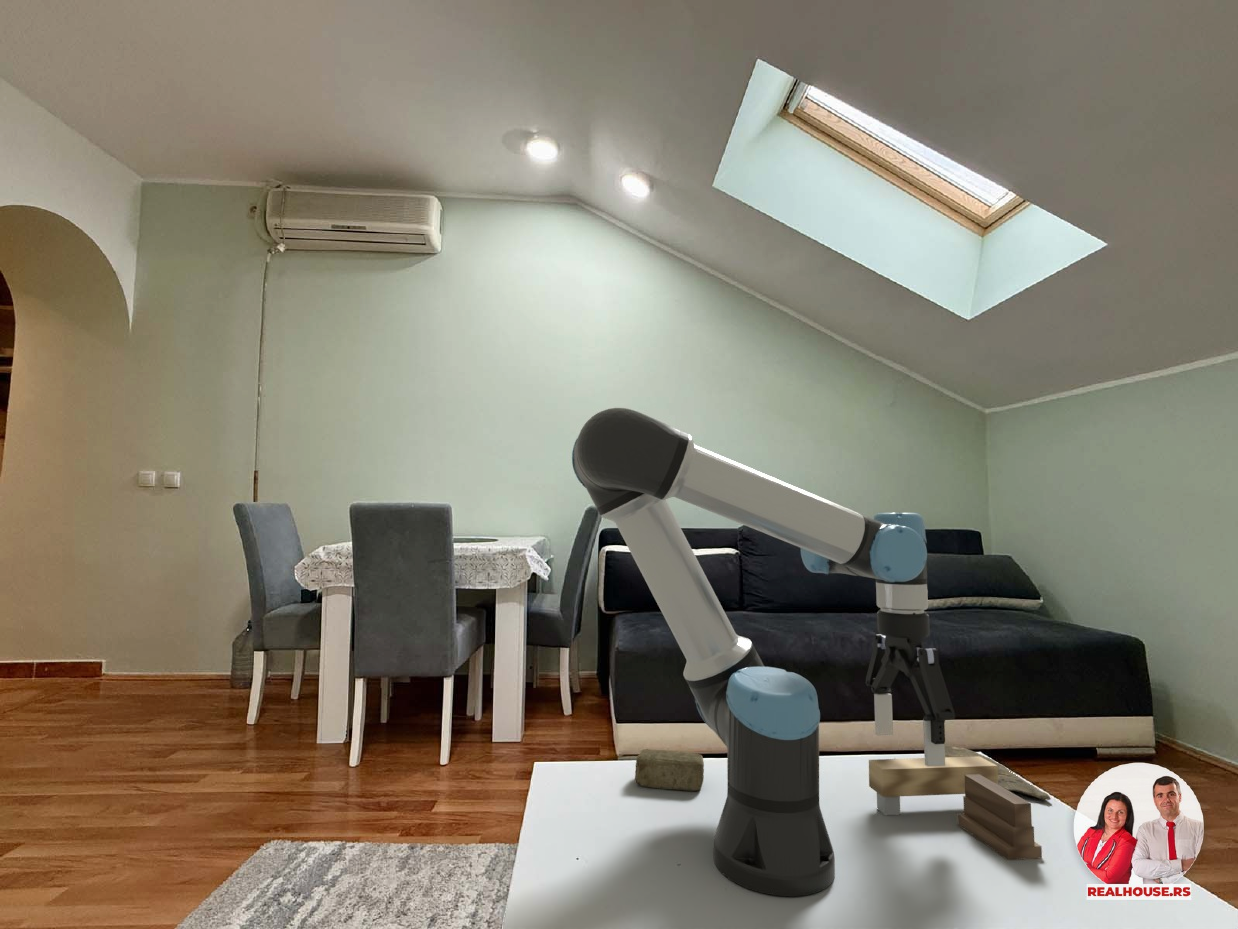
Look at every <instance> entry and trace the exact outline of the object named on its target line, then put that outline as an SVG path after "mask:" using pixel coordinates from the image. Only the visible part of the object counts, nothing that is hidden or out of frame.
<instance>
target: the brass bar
mask: <svg viewBox="0 0 1238 929" xmlns="http://www.w3.org/2000/svg"><path fill="white" fill-rule="evenodd" d="M974 774H980V775H981V776H983V777H985V778H987V779H989V780H990V781H992V782H994V783H996V784H997V785H998V768H997V765H995V764H993V763H991V762H989V761H987V760H986V759H984V758H982V757H980V756H977V757H945V766H926V765H925V757H918V758H917V757H916V758H888V759H885V758H884V759H880V758H879V759H868V787H869V788H871V790H873V791H875V793H876V794H877V793H878V794H880V795H881V796H882V797H899V796H900V797H919V796H920V797H921V796H925V797H926V796H944V795H945V796H946V795H947V796H948V795H965V775H974Z"/></svg>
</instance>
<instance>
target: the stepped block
mask: <svg viewBox="0 0 1238 929" xmlns="http://www.w3.org/2000/svg"><path fill="white" fill-rule="evenodd" d="M962 797H963V813H957V825H958V826H959V827H961V828H962V829H963V830H965V831H966V832H967V833H969V834H971V835H972V836H974V837H975V838H976V839H978V841H980V842H981V843H983V844H985V846H987V847H989V848H990V849H992V850H993V851H995V852H996V853H997V854H998V855H1001V857H1003V858H1004V859H1005V860H1007V861H1011V860H1012V861H1013V860H1031V859H1043V854H1042V853H1043V851H1042V845H1040V844H1039V843H1038V842H1036V841H1035V827H1034V825H1032V824H1033V822H1032V803H1031V802H1029V801H1027V800H1025V798H1024V799H1023V798H1022V797H1020V796H1019V795H1017V794H1015V793H1014V792H1013V791H1009V790H1006V789H1004V788H1003V787H1001V786H999V785H997V784H996V783H994V782H992V781H990V780H989V779H987V778H985V777H983V776H981V775H980V774H974V775H965V794H964V795H963V796H962Z"/></svg>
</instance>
